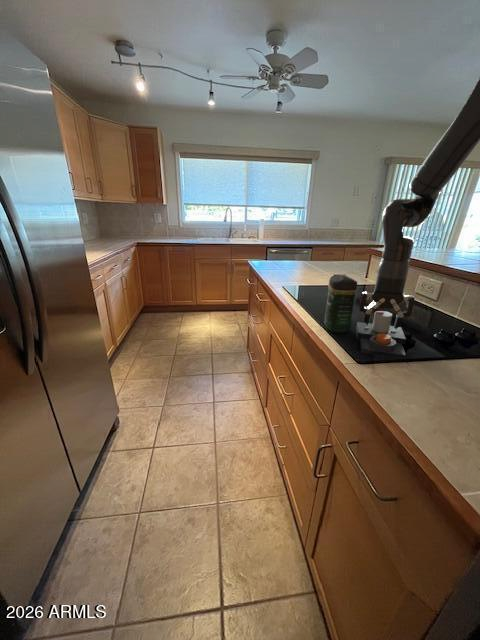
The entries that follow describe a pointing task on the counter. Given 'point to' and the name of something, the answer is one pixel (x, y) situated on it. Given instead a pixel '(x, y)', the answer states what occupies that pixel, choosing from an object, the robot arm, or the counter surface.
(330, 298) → the coffee jar
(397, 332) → the fryer panel
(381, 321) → the timer knob
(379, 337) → the power button
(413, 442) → the counter surface
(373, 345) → the power block
